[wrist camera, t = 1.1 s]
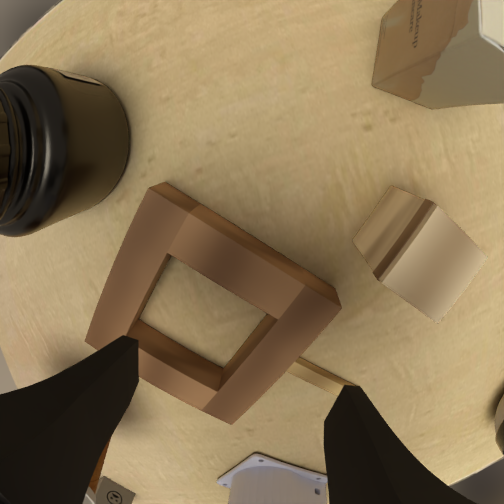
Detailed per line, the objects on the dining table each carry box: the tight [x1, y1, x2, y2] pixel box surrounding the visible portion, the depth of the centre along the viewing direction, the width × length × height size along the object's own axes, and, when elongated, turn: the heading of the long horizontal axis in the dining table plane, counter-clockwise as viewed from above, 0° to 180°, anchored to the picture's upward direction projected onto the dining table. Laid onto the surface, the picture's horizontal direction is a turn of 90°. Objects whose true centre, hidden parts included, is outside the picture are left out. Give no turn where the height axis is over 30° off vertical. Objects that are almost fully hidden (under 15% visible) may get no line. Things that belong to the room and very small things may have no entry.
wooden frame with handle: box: [85, 182, 355, 425], centre depth 19 cm, size 19×12×2 cm, turn 58°
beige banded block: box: [352, 186, 488, 324], centre depth 15 cm, size 4×4×6 cm
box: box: [372, 0, 504, 109], centre depth 9 cm, size 5×4×11 cm
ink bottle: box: [0, 65, 129, 237], centre depth 12 cm, size 10×9×12 cm
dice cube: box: [95, 476, 135, 504], centre depth 30 cm, size 5×5×5 cm
